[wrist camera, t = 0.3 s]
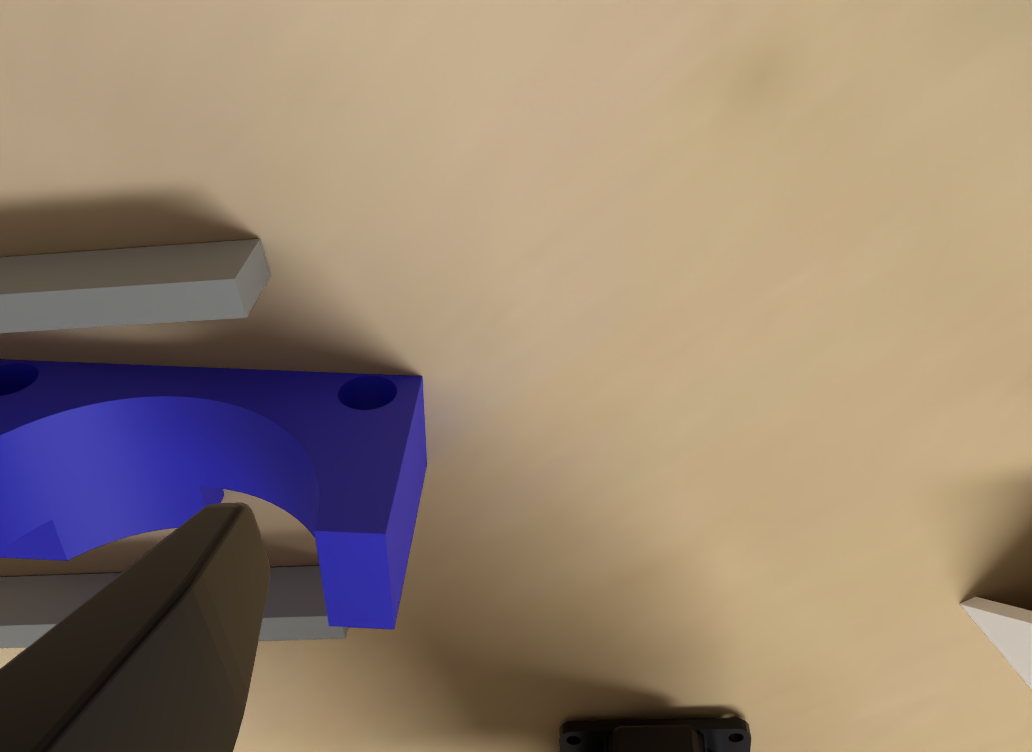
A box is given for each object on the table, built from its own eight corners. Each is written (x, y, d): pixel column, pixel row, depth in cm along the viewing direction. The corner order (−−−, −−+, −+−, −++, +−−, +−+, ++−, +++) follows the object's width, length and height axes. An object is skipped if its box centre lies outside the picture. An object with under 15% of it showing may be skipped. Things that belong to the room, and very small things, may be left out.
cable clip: (25, 482, 27) (-97, 646, 22) (-24, 354, 24) (-174, 508, 19) (430, 499, 27) (397, 671, 22) (423, 372, 24) (385, 533, 19)
